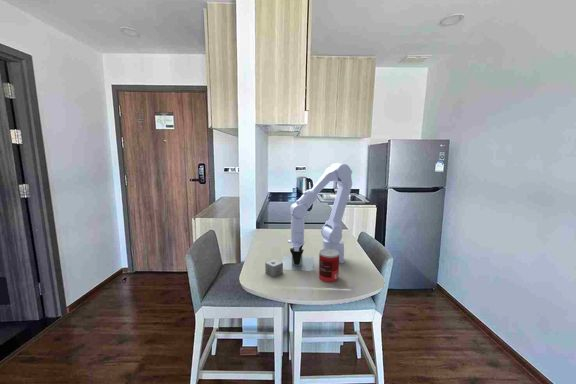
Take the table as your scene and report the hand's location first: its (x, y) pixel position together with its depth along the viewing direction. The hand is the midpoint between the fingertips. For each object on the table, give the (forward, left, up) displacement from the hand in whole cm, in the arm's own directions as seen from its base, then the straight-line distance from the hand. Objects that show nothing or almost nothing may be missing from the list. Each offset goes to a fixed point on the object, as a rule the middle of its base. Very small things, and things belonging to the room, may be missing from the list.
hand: (297, 260), depth 119 cm
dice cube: (+9, +10, -2) cm, 14 cm away
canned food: (-13, +12, -2) cm, 18 cm away
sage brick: (0, 0, -1) cm, 1 cm away
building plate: (0, 0, -2) cm, 2 cm away
